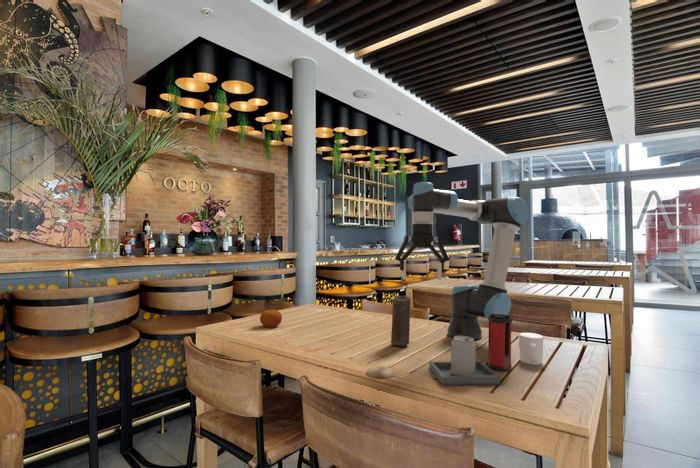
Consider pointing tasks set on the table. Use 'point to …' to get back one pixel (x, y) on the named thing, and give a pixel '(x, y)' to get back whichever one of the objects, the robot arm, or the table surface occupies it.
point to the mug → (531, 348)
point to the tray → (449, 379)
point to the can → (463, 356)
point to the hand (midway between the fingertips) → (421, 279)
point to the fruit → (271, 318)
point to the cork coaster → (381, 372)
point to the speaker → (499, 342)
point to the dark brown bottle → (400, 321)
